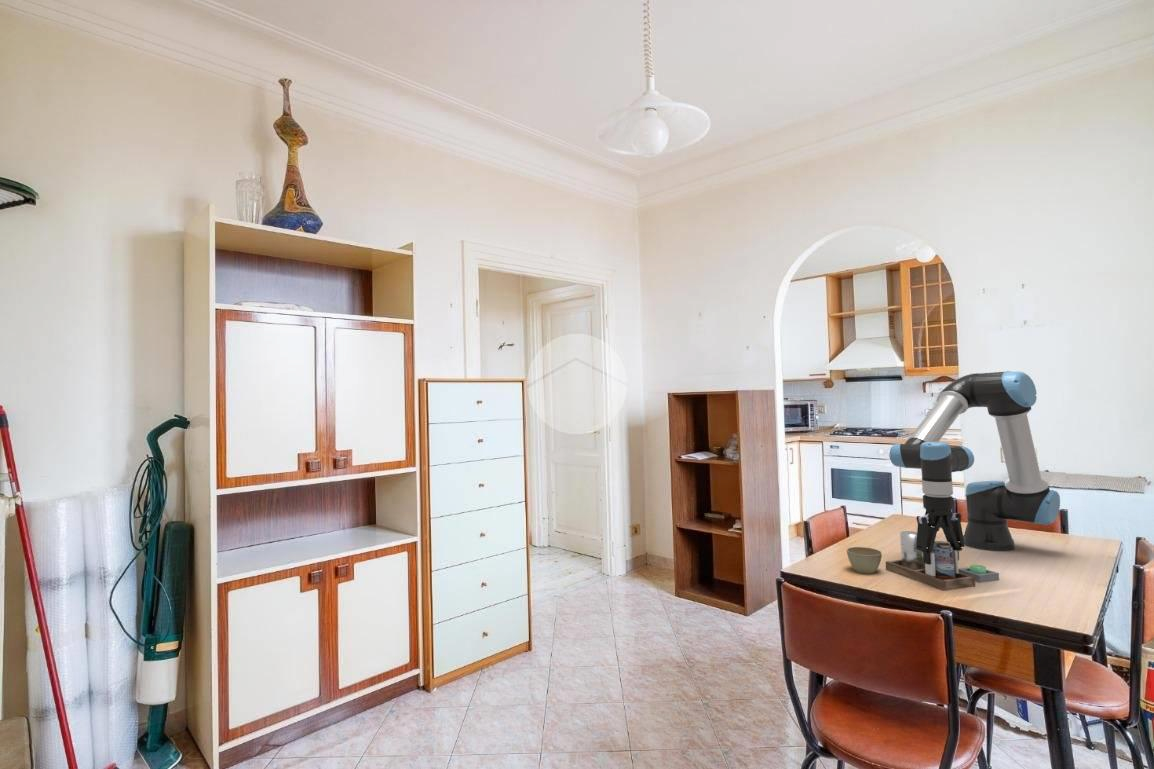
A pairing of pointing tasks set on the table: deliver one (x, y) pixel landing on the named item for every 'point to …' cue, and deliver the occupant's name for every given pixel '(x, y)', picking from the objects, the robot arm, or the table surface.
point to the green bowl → (864, 559)
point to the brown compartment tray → (921, 576)
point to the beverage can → (943, 560)
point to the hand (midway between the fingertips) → (942, 573)
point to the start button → (978, 569)
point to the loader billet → (911, 551)
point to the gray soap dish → (981, 575)
